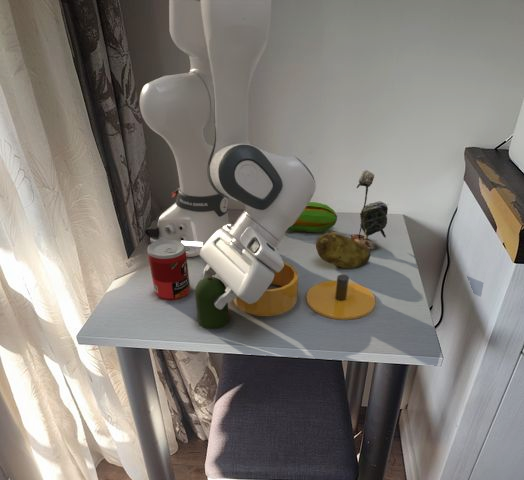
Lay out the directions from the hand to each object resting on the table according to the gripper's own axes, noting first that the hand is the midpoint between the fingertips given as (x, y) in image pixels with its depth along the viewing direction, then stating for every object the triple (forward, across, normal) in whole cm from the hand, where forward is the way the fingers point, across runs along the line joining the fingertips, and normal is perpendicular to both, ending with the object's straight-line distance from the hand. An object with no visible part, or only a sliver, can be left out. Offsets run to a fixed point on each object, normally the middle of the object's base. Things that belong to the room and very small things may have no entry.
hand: (208, 297), depth 90 cm
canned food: (+6, -15, +2) cm, 17 cm away
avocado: (+4, 0, +5) cm, 6 cm away
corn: (-24, -30, +32) cm, 50 cm away
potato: (-22, -7, +31) cm, 39 cm away
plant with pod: (-30, -13, +39) cm, 50 cm away
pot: (-5, -2, +14) cm, 15 cm away
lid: (-15, +6, +24) cm, 29 cm away
